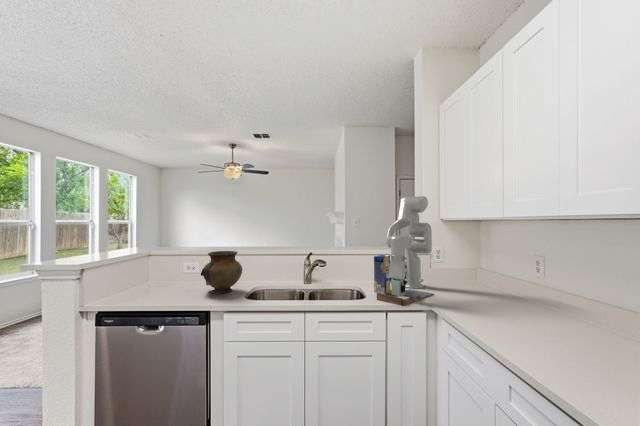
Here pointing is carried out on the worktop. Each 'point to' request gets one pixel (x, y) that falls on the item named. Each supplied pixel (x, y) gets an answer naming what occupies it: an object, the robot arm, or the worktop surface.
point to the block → (396, 287)
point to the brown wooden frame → (396, 298)
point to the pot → (222, 271)
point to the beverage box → (381, 273)
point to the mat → (417, 293)
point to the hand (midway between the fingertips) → (398, 291)
